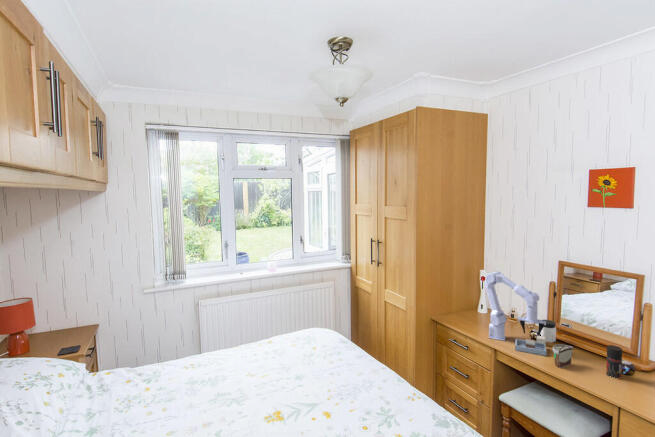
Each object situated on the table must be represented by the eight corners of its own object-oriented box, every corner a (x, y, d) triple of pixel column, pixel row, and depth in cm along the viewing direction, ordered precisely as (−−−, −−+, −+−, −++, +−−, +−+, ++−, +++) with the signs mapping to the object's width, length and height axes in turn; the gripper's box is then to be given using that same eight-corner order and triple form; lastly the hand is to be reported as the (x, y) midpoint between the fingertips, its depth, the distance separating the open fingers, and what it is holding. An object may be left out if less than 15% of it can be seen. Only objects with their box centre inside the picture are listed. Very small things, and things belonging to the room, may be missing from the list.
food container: (561, 358, 192) (562, 342, 191) (572, 363, 186) (573, 346, 185) (546, 363, 187) (547, 346, 187) (557, 368, 182) (558, 351, 181)
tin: (525, 349, 204) (525, 342, 203) (525, 346, 208) (525, 339, 207) (535, 351, 201) (535, 343, 201) (534, 347, 205) (534, 340, 205)
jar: (549, 343, 210) (550, 325, 210) (537, 338, 218) (537, 321, 217) (558, 340, 214) (558, 322, 214) (545, 335, 222) (545, 318, 221)
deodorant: (619, 379, 169) (620, 351, 168) (604, 375, 174) (605, 347, 173) (622, 375, 173) (623, 348, 171) (608, 371, 177) (609, 344, 176)
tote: (515, 350, 203) (515, 345, 203) (515, 343, 213) (515, 338, 213) (546, 356, 195) (546, 351, 195) (545, 348, 205) (545, 343, 204)
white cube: (536, 345, 210) (536, 338, 209) (536, 342, 214) (536, 335, 213) (545, 346, 207) (545, 339, 207) (544, 343, 211) (545, 336, 211)
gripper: (518, 312, 203) (517, 334, 204) (546, 316, 196) (546, 339, 197) (518, 309, 209) (518, 330, 210) (545, 312, 202) (545, 334, 203)
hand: (531, 334), depth 204 cm, fingers open, 7 cm apart
